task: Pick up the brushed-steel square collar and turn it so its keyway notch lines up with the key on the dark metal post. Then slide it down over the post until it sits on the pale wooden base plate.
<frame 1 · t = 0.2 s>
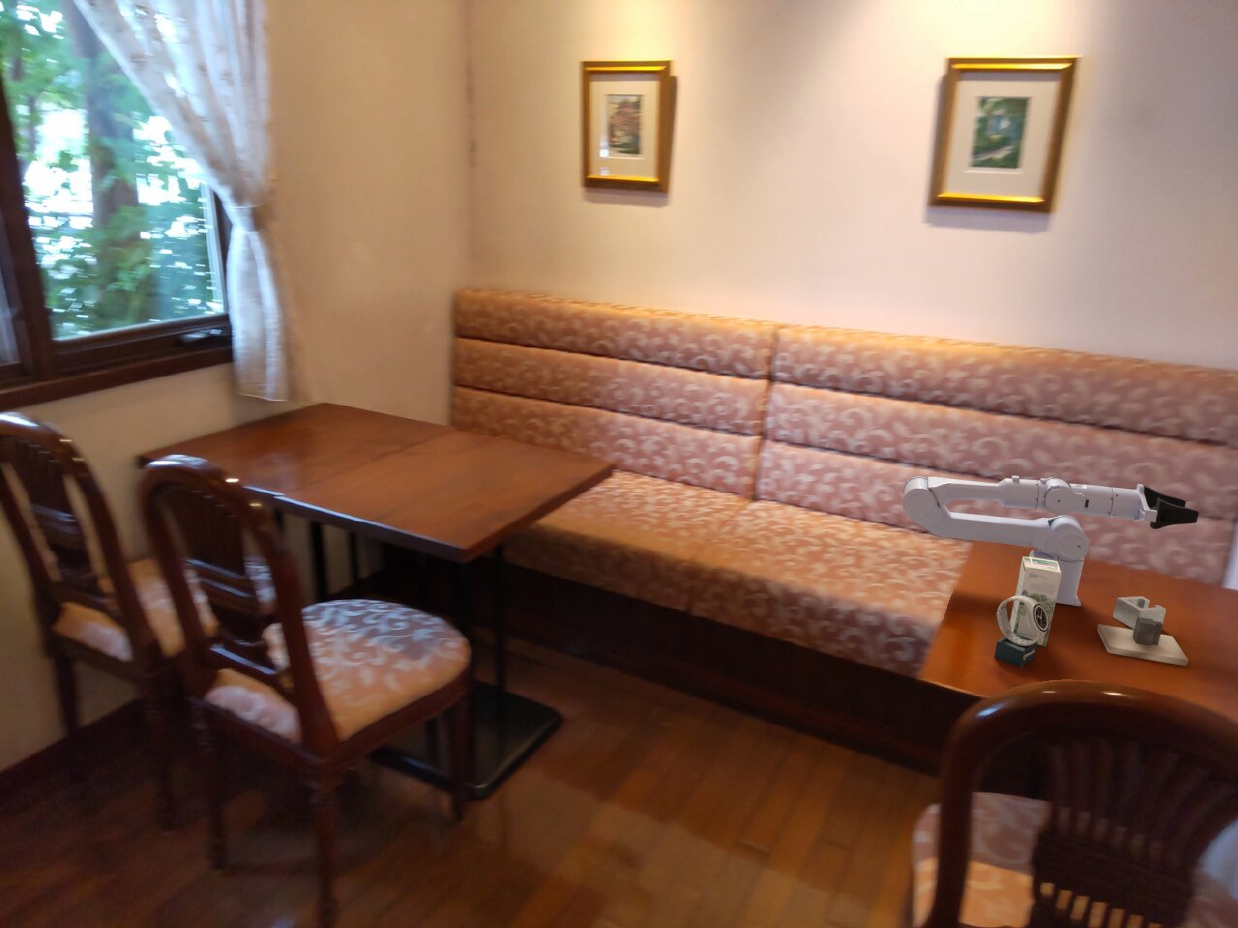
hand: (1190, 511, 158), 21 cm above the table, tool horizontal, fingers open, 7 cm apart
syrup box: (1026, 638, 152), on the table
steel collar: (1136, 622, 160), on the table
keyed post base: (1140, 647, 151), on the table
watch: (1014, 658, 145), on the table
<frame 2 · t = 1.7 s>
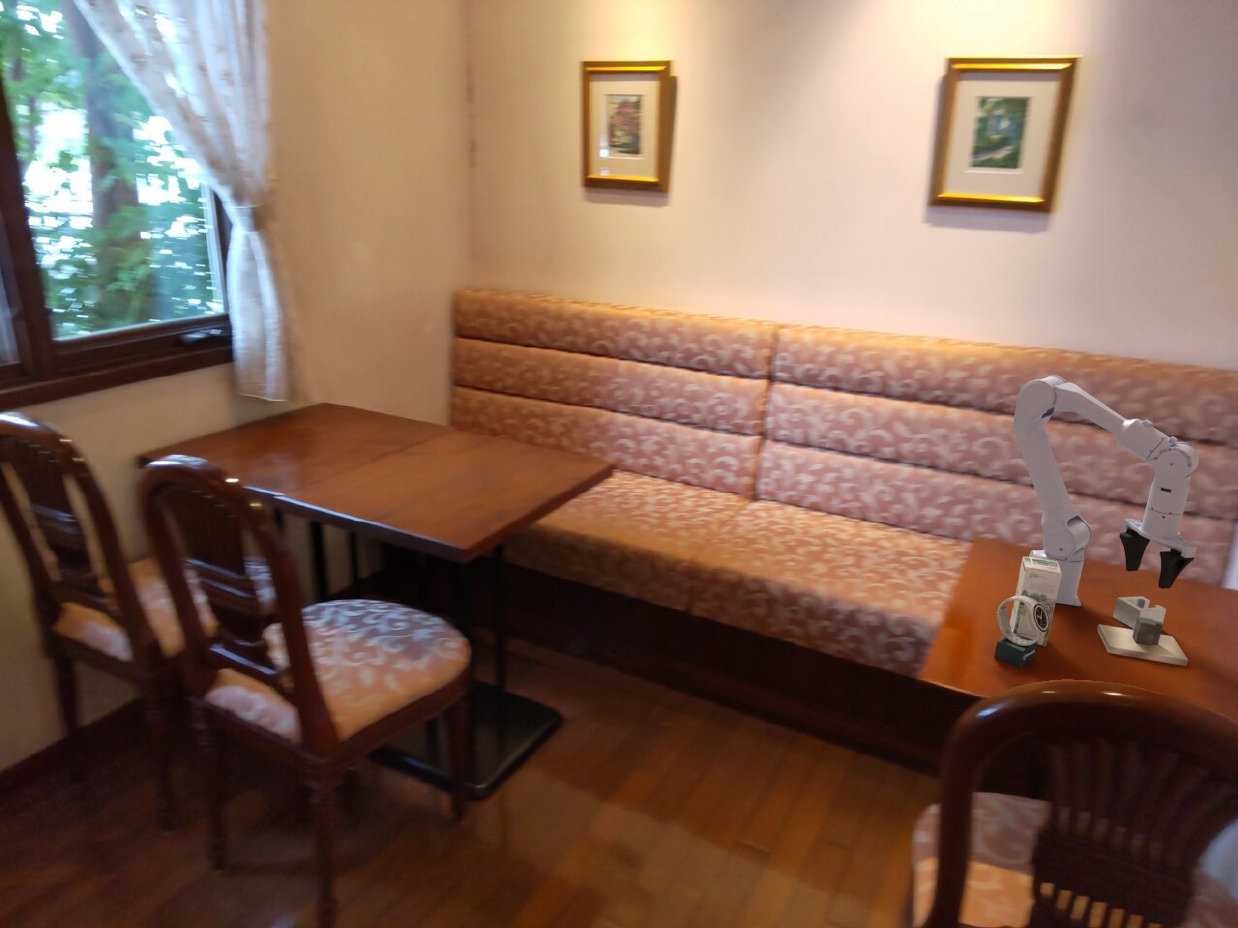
hand: (1147, 578, 157), 9 cm above the table, tool pointing down, fingers open, 7 cm apart
nothing on the table moved.
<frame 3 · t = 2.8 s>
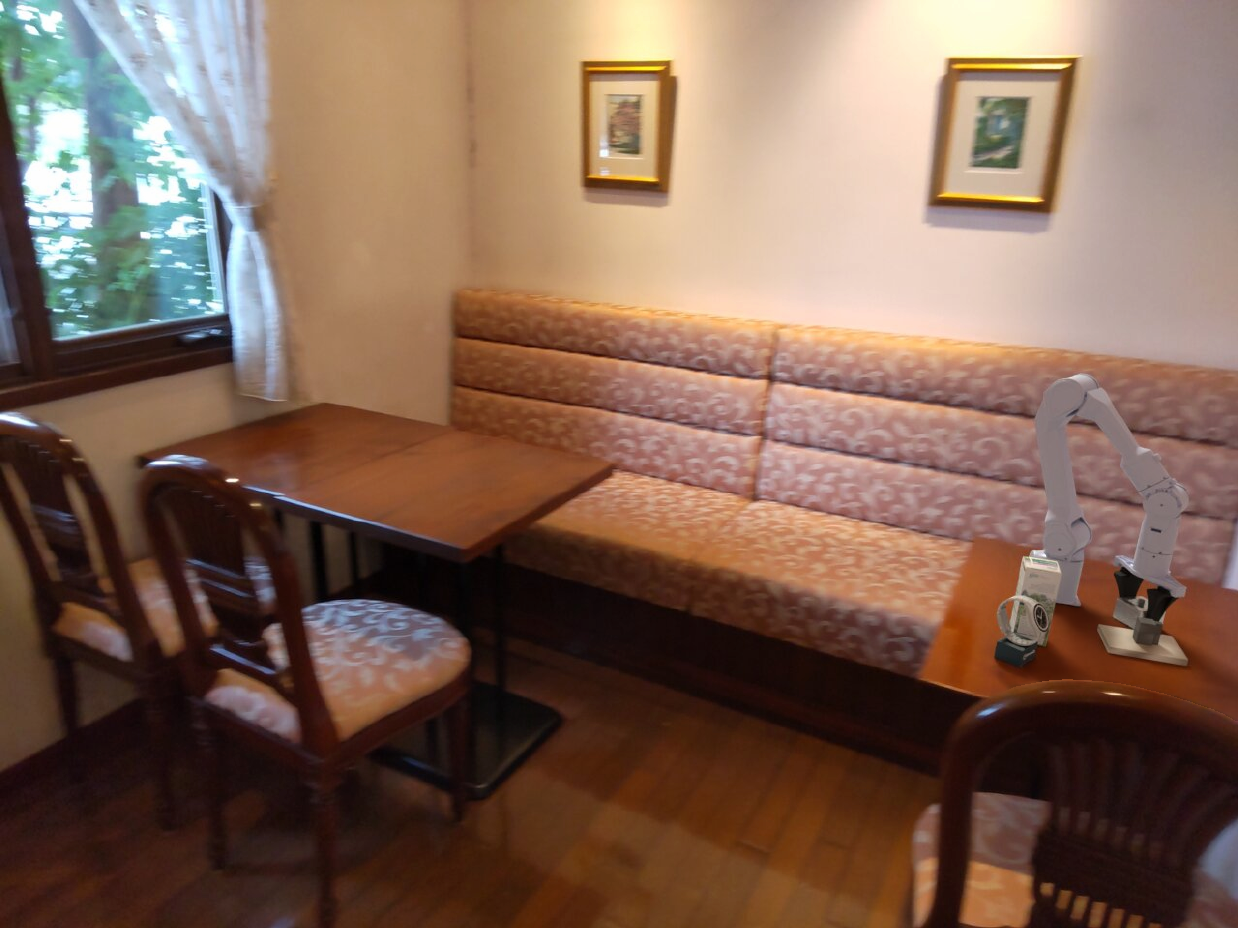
hand: (1138, 615, 160), 1 cm above the table, tool pointing down, fingers closed on steel collar, 6 cm apart
steel collar: (1136, 622, 160), on the table, touching gripper
everything else where it was.
when the fingers open (4 cm above the table, at t = 7.7 s): steel collar stays where it is, resting on keyed post base.
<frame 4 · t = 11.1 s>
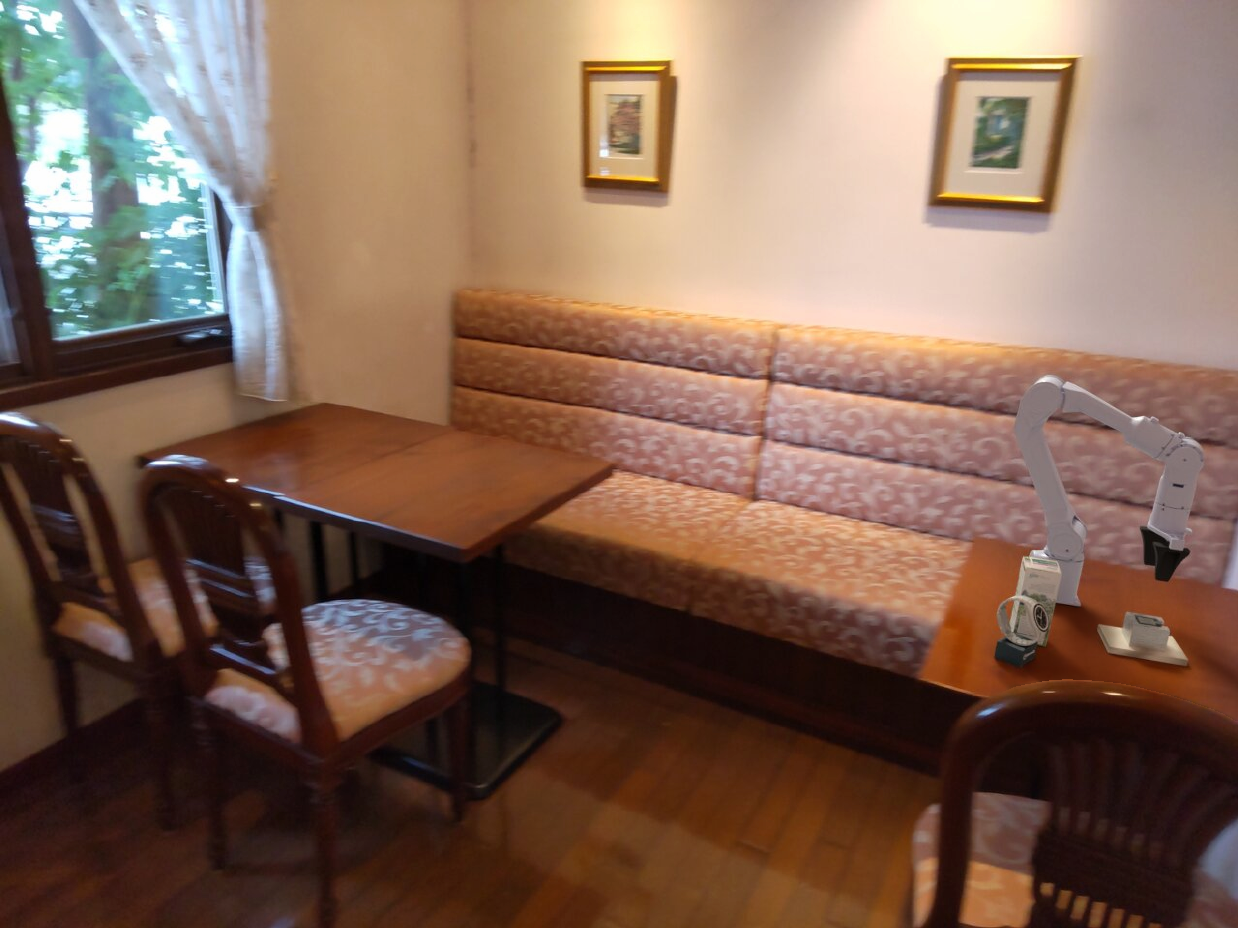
hand: (1155, 572, 160), 9 cm above the table, tool pointing down, fingers open, 7 cm apart
steel collar: (1142, 641, 150), point 1 cm above the table, touching keyed post base
everything else where it was.
at the end: steel collar 0.1 cm off-centre on the keyed post base, point 1.2 cm above the keyed post base's base; steel collar tilted 0°; the gripper is holding nothing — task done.
